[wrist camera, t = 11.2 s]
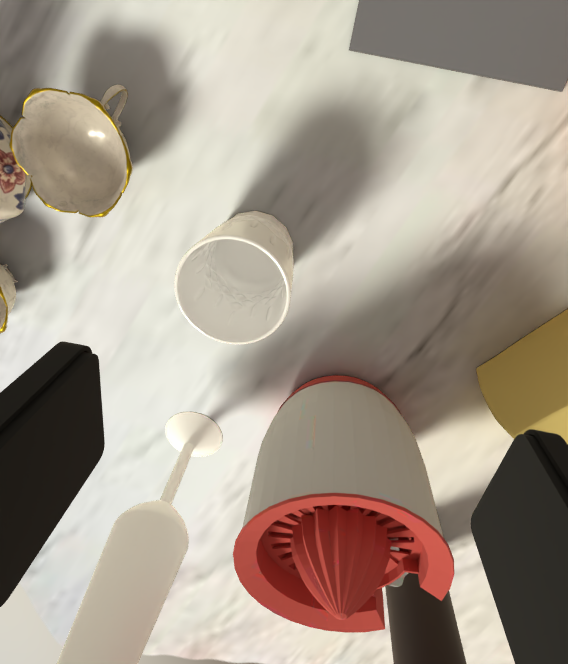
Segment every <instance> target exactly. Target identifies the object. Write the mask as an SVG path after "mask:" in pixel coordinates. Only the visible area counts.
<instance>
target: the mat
mask: <svg viewBox="0 0 568 664" xmlns="http://www.w3.org/2000/svg"><path fill="white" fill-rule="evenodd" d="M349 50H350V51H355V52H360V53H365V54H370V55H375V56H380V57H386V58H391V59H396V60H401V61H406V62H411V63H416V64H421V65H427V66H432V67H437V68H442V69H447V70H452V71H457V72H463V73H468V74H473V75H478V76H483V77H488V78H493V79H498V80H504V81H509V82H514V83H519V84H524V85H529V86H534V87H539V88H545V89H550V90H555V91H560V92H561V91H563V89H564V86H565V84H566V82H567V79H568V0H359V4H358V8H357V13H356V18H355V23H354V28H353V33H352V38H351V42H350V47H349Z"/></svg>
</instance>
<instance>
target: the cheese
mask: <svg viewBox="0 0 568 664" xmlns="http://www.w3.org/2000/svg"><path fill="white" fill-rule="evenodd" d="M476 372H477V376H478V382H479V386H480V389H481V391H482V394H483V396H484V398H485V400H486V403H487V405H488V407H489V409H490V410H491V412H492V414H493V416H494V417H495V419H496V420H497V421H498V423H499V424H500V425H501V426H502V427H503V428H504V429H505V430H506V431H507V432H508V433H509V434H510V435H511V436H512V437H513V438H514V439H515V437H516V436H517V435H519V434H524V432H525V431H527V430H530V429H533V430H539V431H544V432H549V433H555V434H558V435H560V436H561V437H562V438H563V439H564V440H565V442H566V443H567V444H568V309H567V310H565V311H564V312H562V313H561V314H559V315H558V316H556V317H555V318H553V319H551V320H550V321H548V322H547V323H545V324H544V325H542V326H540V327H539V328H537V329H536V330H534V331H533V332H531V333H530V334H528V335H526V336H525V337H523V338H522V339H521V340H519V341H518V342H516V343H515V344H513V345H512V346H510V347H509V348H507V349H506V350H504V351H503V352H501V353H500V354H499V355H497V356H495V357H494V358H492V359H491V360H489V361H488V362H486V363H484V364H483V365H481V366H479V367H478V368H477V369H476Z"/></svg>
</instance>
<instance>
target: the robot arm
mask: <svg viewBox="0 0 568 664" xmlns="http://www.w3.org/2000/svg"><path fill="white" fill-rule="evenodd" d="M103 450H104V429H103V414H102V400H101V386H100V372H99V359H98V356H97V355H96V354H92V351H91V349H90V347H88V346H84V345H79V344H74V343H68V342H60V343H58V344H57V345H55V346H54V347H53V348H52V349H51V350H50V351H48V352H47V353H46V354H45V355H44V356H43V357H41V358H40V359H39V360H38V361H37V362H36V363H34V364H33V365H32V366H31V367H30V368H29V369H27V370H26V371H25V372H24V373H23V374H22V375H21V376H19V377H18V378H17V379H16V380H15V381H14V382H12V383H11V384H10V385H9V386H8V387H7V388H5V389H4V390H3V391H2V392H1V393H0V607H1V606H2V605H3V604H4V603H5V602H6V600H7V599H8V598H9V597H10V595H11V593H12V592H13V591H14V589H15V588H16V586H17V585H18V583H19V581H20V580H21V578H22V577H23V575H24V574H25V572H26V571H27V569H28V568H29V566H30V565H31V563H32V562H33V560H34V559H35V557H36V556H37V554H38V553H39V551H40V550H41V548H42V547H43V545H44V544H45V542H46V541H47V539H48V538H49V536H50V535H51V533H52V531H53V530H54V528H55V527H56V525H57V524H58V522H59V521H60V519H61V518H62V516H63V515H64V513H65V512H66V510H67V509H68V507H69V506H70V504H71V503H72V501H73V500H74V498H75V497H76V495H77V494H78V492H79V491H80V489H81V488H82V486H83V485H84V483H85V481H86V480H87V478H88V477H89V475H90V474H91V472H92V471H93V469H94V468H95V466H96V465H97V463H98V462H99V460H100V458H101V456H102V454H103ZM471 529H472V533H473V536H474V539H475V542H476V545H477V549H478V552H479V555H480V558H481V561H482V564H483V567H484V570H485V573H486V576H487V579H488V582H489V585H490V588H491V591H492V594H493V597H494V600H495V603H496V606H497V609H498V612H499V615H500V618H501V622H502V625H503V628H504V631H505V634H506V637H507V640H508V643H509V646H510V649H511V652H512V655H513V658H514V661H515V664H568V444H567V443H566V442H565V440H564V439H563V438H562V437H561V436H560V435H558V434H555V433H549V432H544V431H539V430H533V429H530V430H527V431H525V432H524V434H519V435H517V436H516V437H515V439H514V441H513V442H512V444H511V446H510V448H509V450H508V451H507V453H506V455H505V457H504V458H503V460H502V462H501V464H500V466H499V467H498V469H497V471H496V473H495V475H494V476H493V478H492V480H491V482H490V484H489V485H488V487H487V489H486V491H485V493H484V494H483V496H482V498H481V500H480V502H479V503H478V505H477V507H476V509H475V510H474V512H473V515H472V518H471Z"/></svg>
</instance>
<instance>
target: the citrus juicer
mask: <svg viewBox="0 0 568 664" xmlns="http://www.w3.org/2000/svg"><path fill="white" fill-rule="evenodd" d="M233 557H234V566H235V570H236V573H237V575H238V577H239V580H240V582H241V583H242V585H243V586H244V587H245V589H246V590H247V592H248V593H249V594H250V595H251V596H252V597H253V598H254V599H256V600H257V601H258V602H259V603H260V604H261V605H263V606H264V607H266V608H267V609H269V610H270V611H272V612H273V613H275V614H277V615H279V616H282V617H284V618H286V619H288V620H290V621H293V622H296V623H299V624H302V625H305V626H308V627H313V628H317V629H322V630H328V631H337V632H369V631H376V630H383V629H385V621H384V607H383V593H382V587H384V586H386V585H389V586H395V587H398V586H401V585H402V584H403V580H404V577H405V576H406V575H407V574H408V573H415V574H418V577H419V583H420V587H421V588H423V589H424V590H426V591H427V592H429V593H430V594H432V595H433V596H435V597H436V598H438V599H439V600H441V601H442V599H443V598H444V597H445V595H446V594H447V592H448V591H449V589H450V587H451V583H452V580H453V576H454V558H453V556H452V553H451V551H450V548H449V545H448V544H447V542H446V541H445V539H444V537H443V533H442V529H441V526H440V522H439V518H438V514H437V510H436V506H435V502H434V498H433V495H432V491H431V487H430V483H429V479H428V475H427V471H426V467H425V464H424V462H423V459H422V456H421V453H420V450H419V447H418V444H417V442H416V439H415V437H414V435H413V434H412V432H411V430H410V428H409V426H408V424H407V423H406V421H405V420H404V419H403V417H402V416H401V413H400V412H399V410H398V409H397V407H396V406H395V404H394V403H393V402H392V401H391V400H390V399H389V398H388V397H387V396H386V395H384V394H383V393H382V392H381V391H380V390H379V389H378V388H376V387H375V386H373V385H371V384H370V383H368V382H366V381H363V380H361V379H358V378H354V377H349V376H338V375H333V376H325V377H321V378H317V379H314V380H311V381H309V382H307V383H305V384H303V385H302V386H301V387H300V388H298V389H297V390H296V391H295V392H293V393H292V394H291V395H290V396H289V397H288V398H287V400H286V401H285V402H284V403H283V404H282V405H281V407H280V408H279V410H278V412H277V414H276V416H275V417H274V419H273V421H272V423H271V425H270V427H269V429H268V431H267V433H266V435H265V437H264V439H263V441H262V444H261V448H260V451H259V454H258V458H257V463H256V467H255V472H254V477H253V481H252V486H251V491H250V495H249V500H248V505H247V509H246V514H245V519H244V523H243V528H242V530H241V532H240V533H239V535H238V537H237V539H236V541H235V546H234V551H233Z"/></svg>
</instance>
